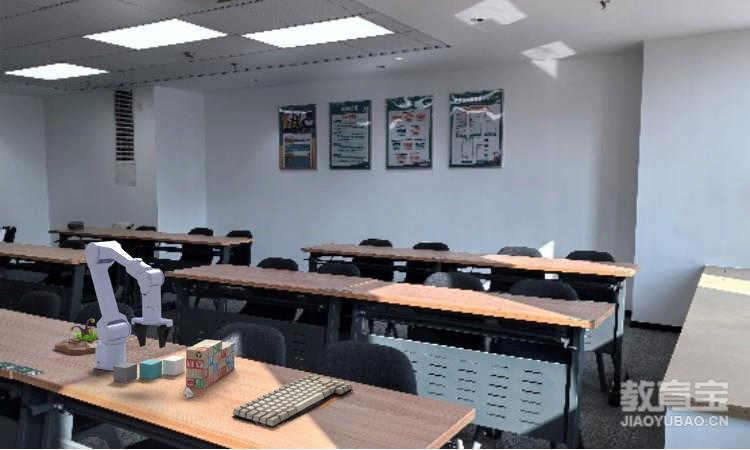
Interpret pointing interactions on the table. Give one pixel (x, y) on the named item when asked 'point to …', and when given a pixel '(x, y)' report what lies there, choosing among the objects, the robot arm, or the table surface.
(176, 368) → the cream block
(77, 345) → the plant
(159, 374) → the teal block
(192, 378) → the stack of blocks
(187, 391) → the power adapter
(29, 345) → the table surface
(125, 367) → the charcoal block
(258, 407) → the mechanical keyboard
